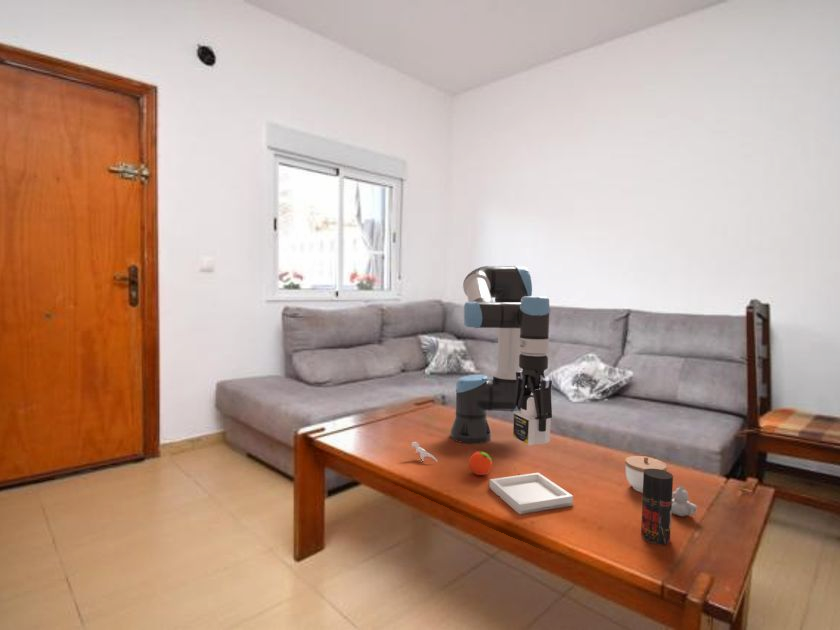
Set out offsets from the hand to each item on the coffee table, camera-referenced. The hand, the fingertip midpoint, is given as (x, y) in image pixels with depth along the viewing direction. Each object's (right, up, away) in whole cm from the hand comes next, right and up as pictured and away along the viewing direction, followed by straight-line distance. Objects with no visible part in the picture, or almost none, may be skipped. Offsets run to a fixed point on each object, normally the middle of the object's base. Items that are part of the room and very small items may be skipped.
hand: (531, 437), depth 125 cm
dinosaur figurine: (-30, -15, +26) cm, 42 cm away
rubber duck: (+36, -17, -9) cm, 41 cm away
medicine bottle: (0, -1, 0) cm, 1 cm away
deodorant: (+24, -18, -19) cm, 35 cm away
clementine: (-11, -15, +15) cm, 24 cm away
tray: (0, -16, +1) cm, 16 cm away
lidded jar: (+34, -17, +7) cm, 38 cm away
